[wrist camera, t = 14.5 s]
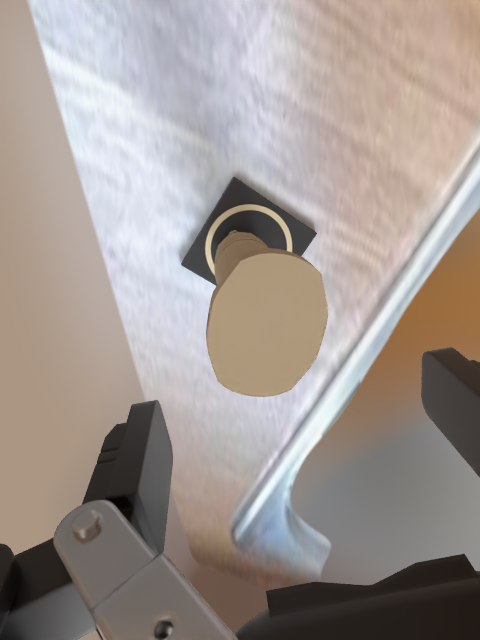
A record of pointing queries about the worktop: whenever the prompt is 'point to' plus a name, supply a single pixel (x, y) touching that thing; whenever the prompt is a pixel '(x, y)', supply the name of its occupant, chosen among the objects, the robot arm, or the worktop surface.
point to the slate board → (245, 228)
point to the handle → (263, 316)
